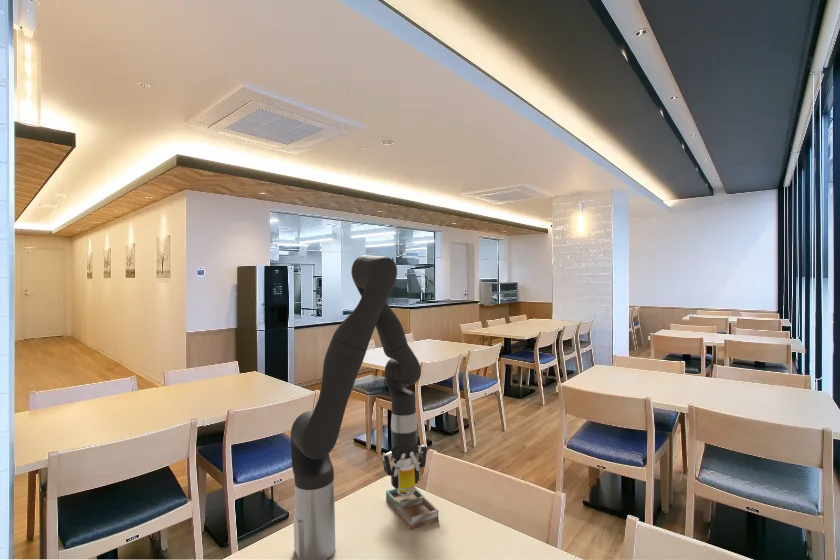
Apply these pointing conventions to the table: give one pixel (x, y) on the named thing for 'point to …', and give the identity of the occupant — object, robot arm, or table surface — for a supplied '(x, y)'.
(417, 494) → the divided sorting tray
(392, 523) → the table surface
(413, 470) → the supplement bottle
